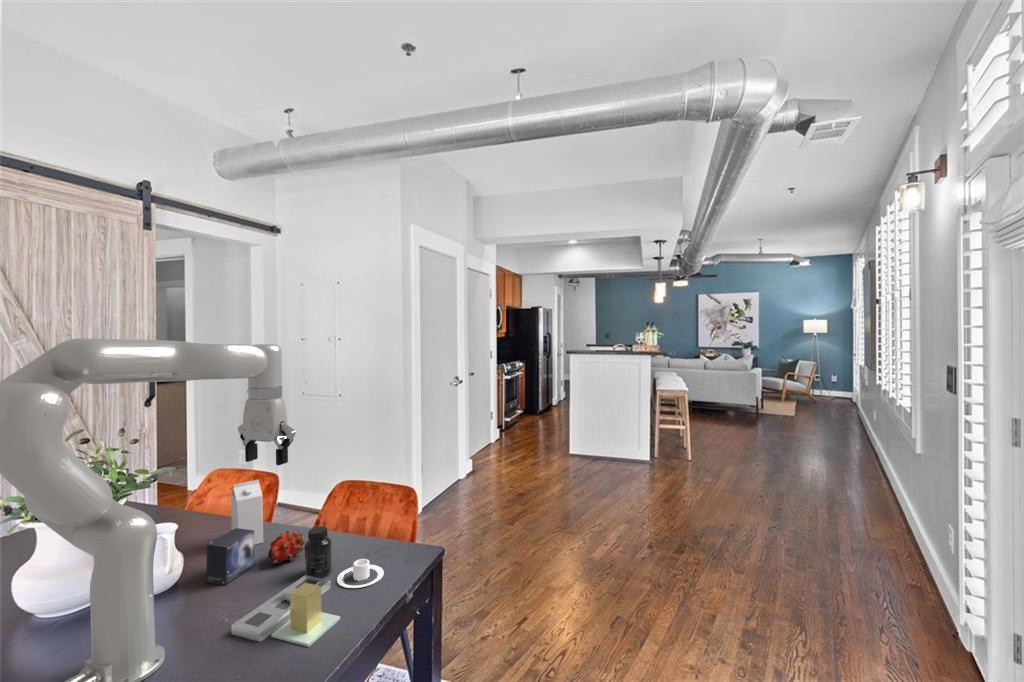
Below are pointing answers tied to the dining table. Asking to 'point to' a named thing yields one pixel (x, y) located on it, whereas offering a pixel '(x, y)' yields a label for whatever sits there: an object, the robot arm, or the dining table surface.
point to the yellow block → (305, 607)
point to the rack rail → (272, 612)
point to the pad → (305, 638)
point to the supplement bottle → (318, 553)
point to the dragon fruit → (286, 547)
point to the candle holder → (360, 573)
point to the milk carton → (248, 508)
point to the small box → (230, 556)
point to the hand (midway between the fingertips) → (266, 462)
